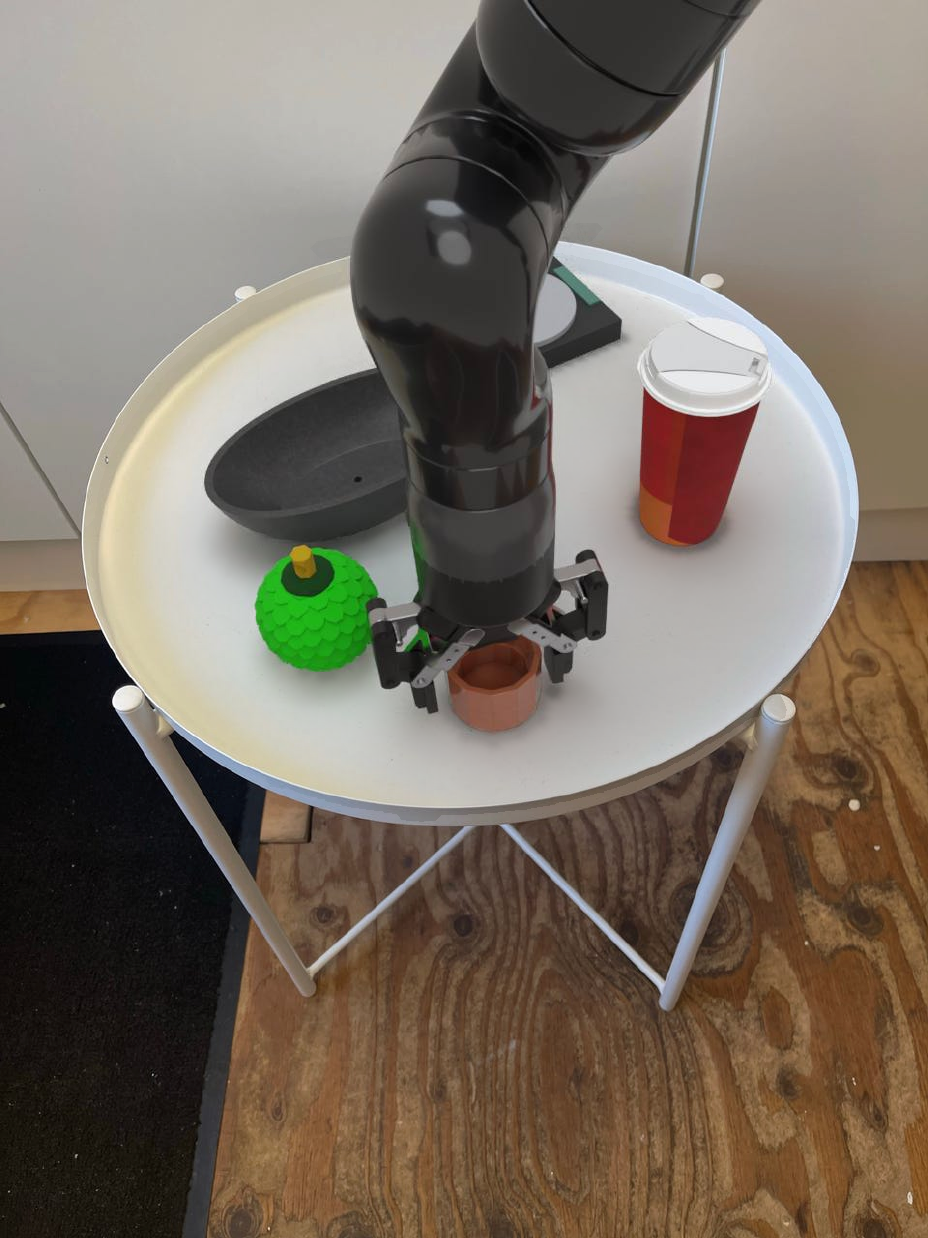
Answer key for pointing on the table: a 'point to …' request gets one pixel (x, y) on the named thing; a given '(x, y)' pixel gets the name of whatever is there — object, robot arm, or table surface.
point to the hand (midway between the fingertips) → (492, 686)
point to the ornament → (315, 609)
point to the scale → (571, 318)
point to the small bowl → (496, 684)
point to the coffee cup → (696, 423)
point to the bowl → (315, 463)
